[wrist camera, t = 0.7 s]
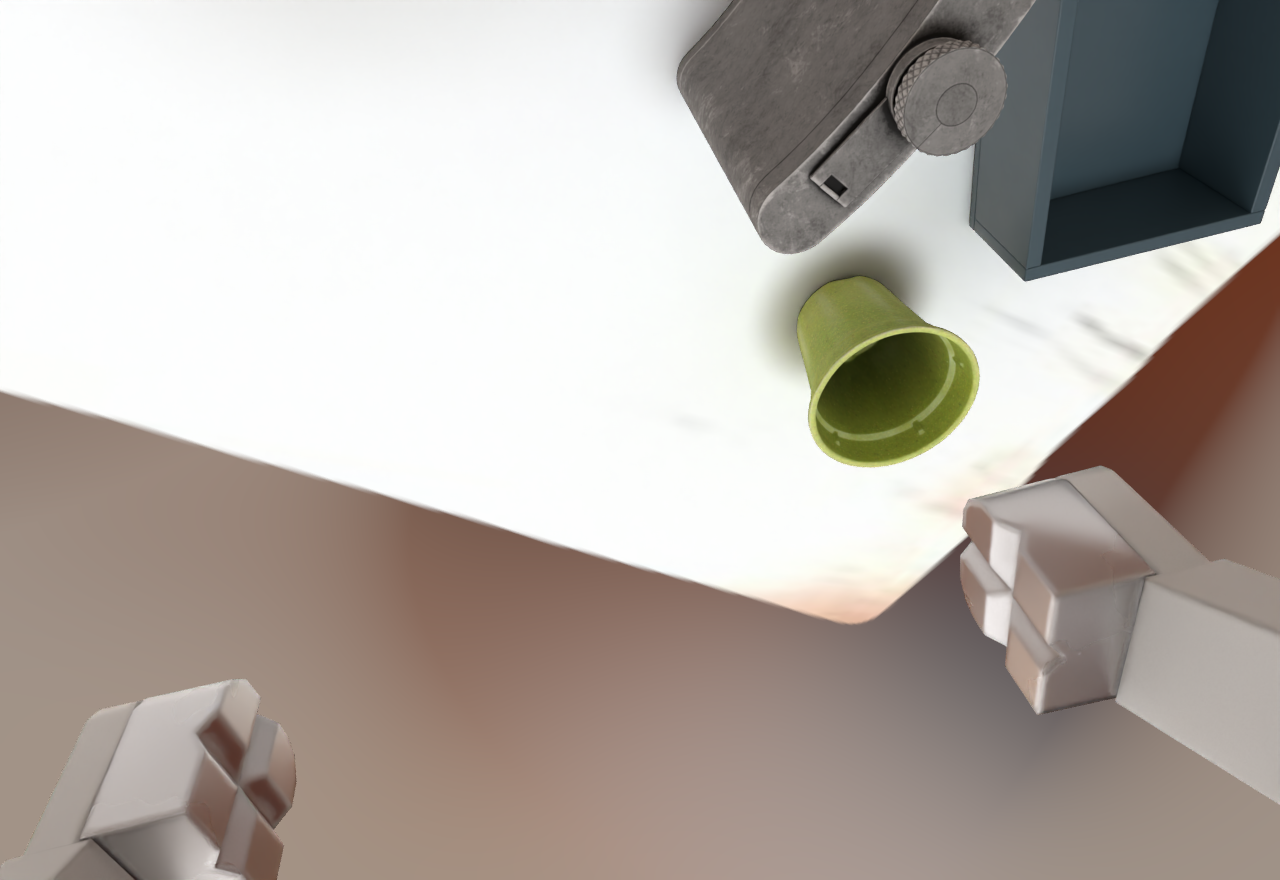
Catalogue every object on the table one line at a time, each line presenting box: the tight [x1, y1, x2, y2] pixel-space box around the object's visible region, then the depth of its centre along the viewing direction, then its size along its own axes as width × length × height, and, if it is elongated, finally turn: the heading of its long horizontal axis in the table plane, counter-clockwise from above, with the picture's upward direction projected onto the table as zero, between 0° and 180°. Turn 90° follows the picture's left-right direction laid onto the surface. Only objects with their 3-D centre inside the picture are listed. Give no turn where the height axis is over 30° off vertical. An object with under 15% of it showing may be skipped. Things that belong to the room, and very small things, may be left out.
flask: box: [677, 0, 1036, 254], centre depth 32 cm, size 4×14×18 cm, turn 146°
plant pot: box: [797, 276, 980, 467], centre depth 48 cm, size 9×9×9 cm
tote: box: [970, 0, 1280, 281], centre depth 39 cm, size 22×13×7 cm, turn 11°
